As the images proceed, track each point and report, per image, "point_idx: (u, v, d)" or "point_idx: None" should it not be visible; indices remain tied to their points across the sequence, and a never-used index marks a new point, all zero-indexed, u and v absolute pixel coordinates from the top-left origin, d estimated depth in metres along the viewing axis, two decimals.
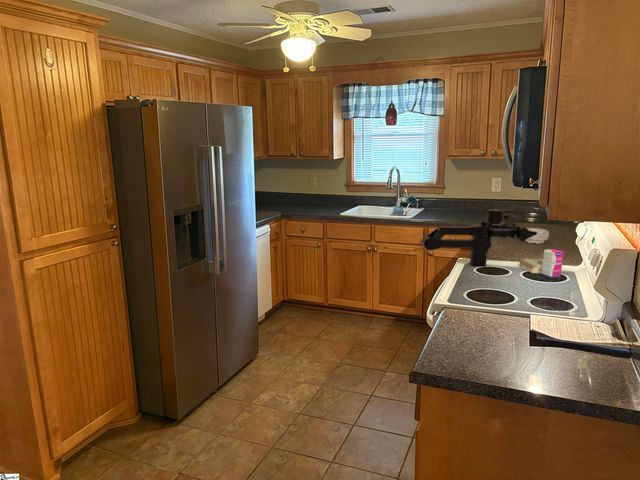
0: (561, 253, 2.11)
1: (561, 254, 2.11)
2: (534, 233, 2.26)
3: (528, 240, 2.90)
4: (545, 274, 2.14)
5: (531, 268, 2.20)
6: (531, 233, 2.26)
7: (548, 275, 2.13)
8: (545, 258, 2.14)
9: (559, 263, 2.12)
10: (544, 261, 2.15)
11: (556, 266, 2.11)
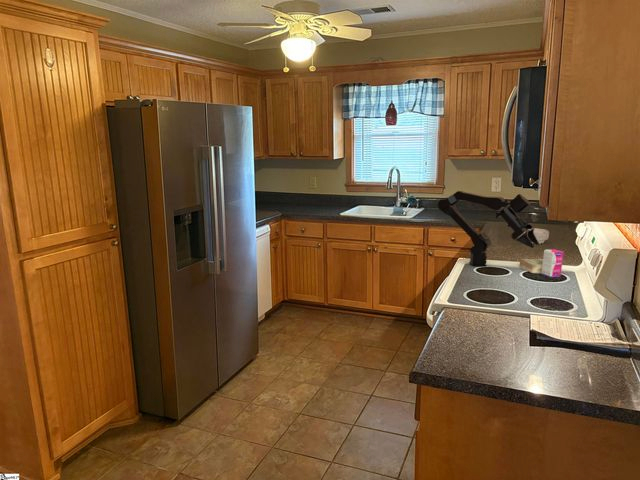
0: (561, 253, 2.11)
1: (561, 254, 2.11)
2: (530, 245, 2.13)
3: None
4: (545, 274, 2.14)
5: (531, 268, 2.20)
6: (528, 241, 2.13)
7: (548, 275, 2.13)
8: (545, 258, 2.14)
9: (559, 263, 2.12)
10: (544, 261, 2.15)
11: (556, 266, 2.11)
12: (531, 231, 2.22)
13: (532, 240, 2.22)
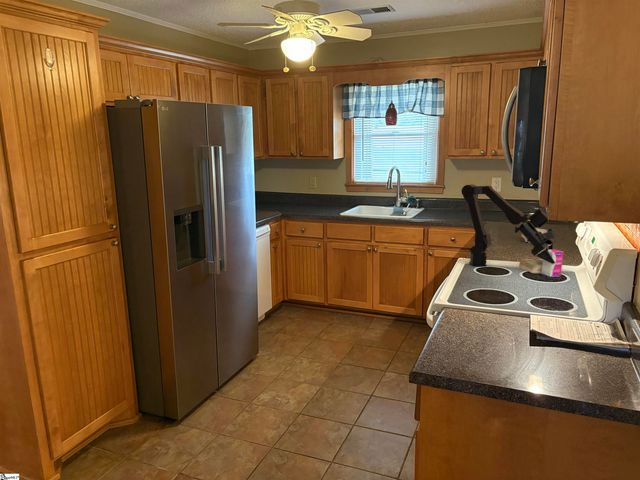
0: (561, 253, 2.11)
1: (561, 254, 2.11)
2: (551, 261, 2.10)
3: None
4: (545, 274, 2.14)
5: (531, 268, 2.20)
6: (548, 257, 2.10)
7: (548, 275, 2.13)
8: None
9: (559, 263, 2.12)
10: (544, 261, 2.15)
11: (556, 266, 2.11)
12: (551, 246, 2.18)
13: None
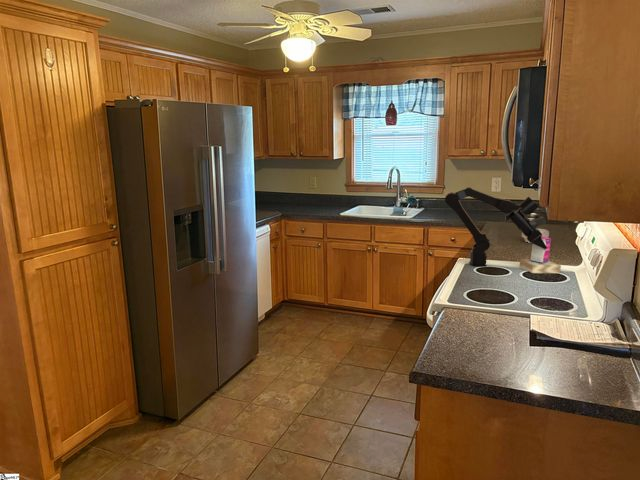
0: (549, 239, 2.22)
1: (549, 240, 2.22)
2: (544, 246, 2.19)
3: None
4: (535, 261, 2.24)
5: (531, 268, 2.20)
6: (541, 243, 2.18)
7: (539, 261, 2.22)
8: (535, 245, 2.23)
9: (548, 249, 2.23)
10: (534, 248, 2.24)
11: (546, 252, 2.22)
12: None
13: None
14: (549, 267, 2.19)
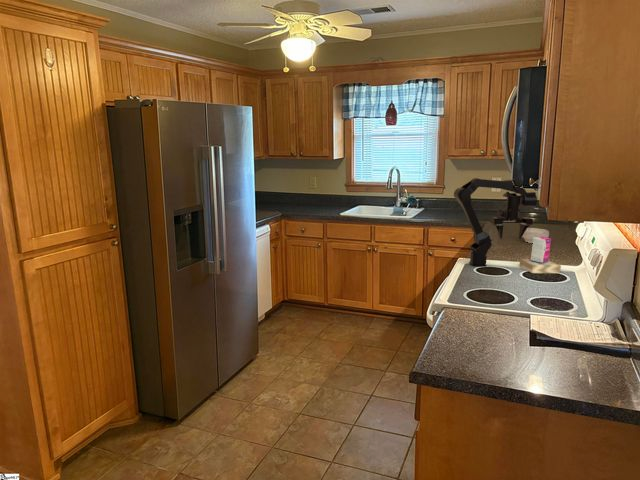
0: (549, 240, 2.22)
1: (549, 240, 2.22)
2: None
3: (528, 240, 2.90)
4: (535, 261, 2.24)
5: (531, 268, 2.20)
6: None
7: (539, 261, 2.22)
8: (535, 245, 2.23)
9: (548, 249, 2.23)
10: (534, 248, 2.24)
11: (546, 252, 2.22)
12: None
13: None
14: (549, 267, 2.19)
